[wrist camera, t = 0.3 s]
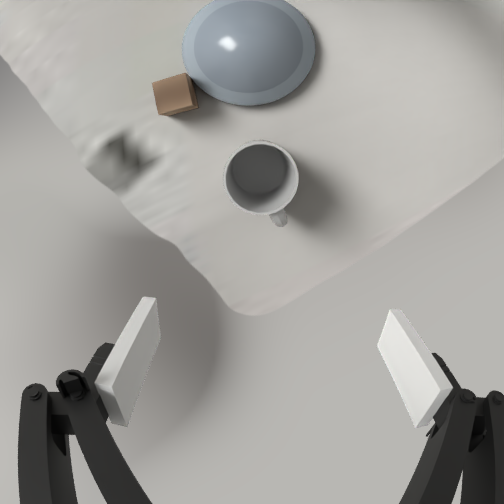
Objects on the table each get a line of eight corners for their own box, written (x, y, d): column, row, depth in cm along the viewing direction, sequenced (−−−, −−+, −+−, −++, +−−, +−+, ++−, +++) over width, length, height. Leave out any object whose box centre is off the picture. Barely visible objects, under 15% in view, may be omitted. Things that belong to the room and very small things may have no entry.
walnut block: (162, 87, 32) (152, 83, 28) (192, 78, 32) (185, 72, 28) (168, 116, 33) (158, 114, 30) (198, 107, 33) (192, 104, 29)
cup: (274, 130, 34) (280, 129, 26) (305, 202, 38) (319, 223, 29) (220, 154, 35) (209, 160, 27) (253, 224, 39) (253, 250, 31)
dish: (190, -4, 27) (188, -8, 25) (315, 2, 27) (317, -2, 26) (179, 104, 33) (176, 103, 32) (309, 111, 33) (311, 110, 32)
